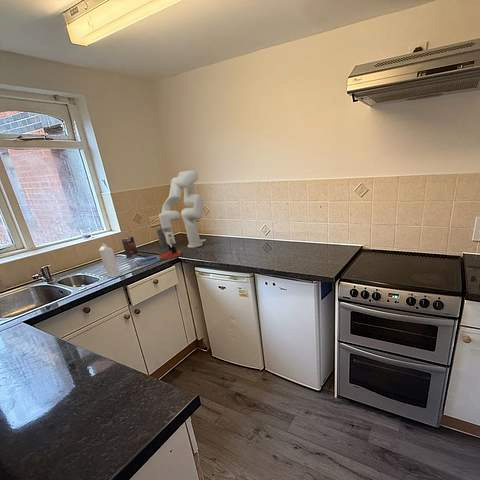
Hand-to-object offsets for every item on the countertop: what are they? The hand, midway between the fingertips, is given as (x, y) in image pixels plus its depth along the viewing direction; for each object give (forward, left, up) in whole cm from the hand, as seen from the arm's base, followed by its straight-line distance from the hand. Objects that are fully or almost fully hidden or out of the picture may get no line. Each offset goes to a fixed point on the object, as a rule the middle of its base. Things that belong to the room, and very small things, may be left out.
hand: (172, 251), depth 230 cm
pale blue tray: (+19, 0, -3) cm, 19 cm away
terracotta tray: (+3, 0, -3) cm, 4 cm away
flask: (-4, -38, -3) cm, 39 cm away
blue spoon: (+19, 0, -3) cm, 19 cm away
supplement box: (+26, -25, -3) cm, 37 cm away
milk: (+43, +14, -3) cm, 46 cm away
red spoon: (+3, 0, -3) cm, 4 cm away
